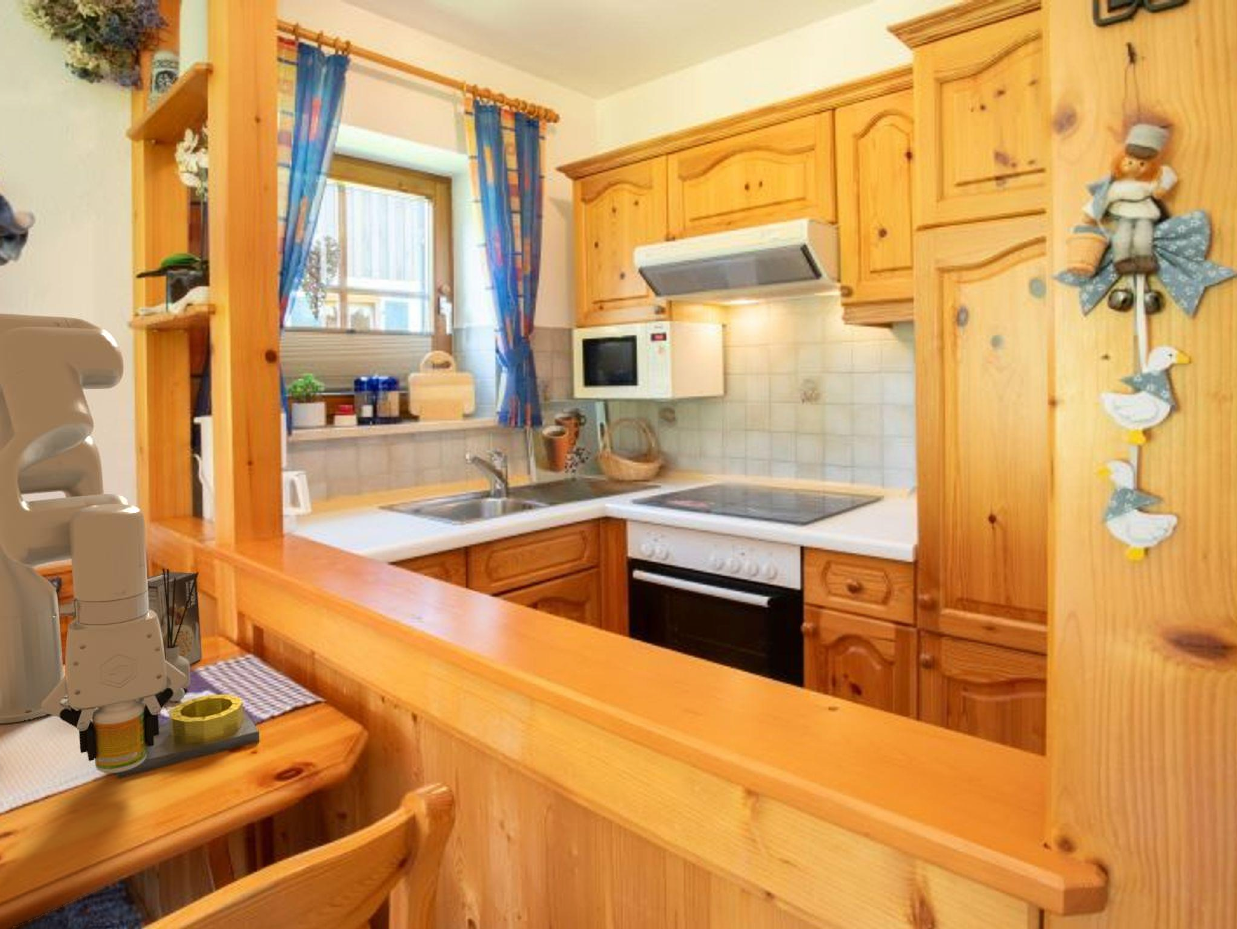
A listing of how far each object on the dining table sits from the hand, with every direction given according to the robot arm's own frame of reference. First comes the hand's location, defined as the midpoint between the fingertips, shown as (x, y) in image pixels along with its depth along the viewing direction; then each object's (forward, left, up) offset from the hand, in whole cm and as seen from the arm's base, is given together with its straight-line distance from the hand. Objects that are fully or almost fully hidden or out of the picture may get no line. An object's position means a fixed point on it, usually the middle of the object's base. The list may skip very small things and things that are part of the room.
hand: (120, 747), depth 97 cm
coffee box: (-43, +11, -6) cm, 45 cm away
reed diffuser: (-30, +11, -6) cm, 33 cm away
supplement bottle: (0, 0, -2) cm, 2 cm away
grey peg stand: (-9, +8, -6) cm, 13 cm away
